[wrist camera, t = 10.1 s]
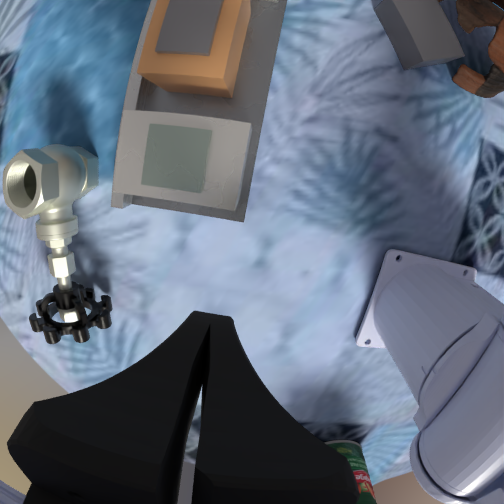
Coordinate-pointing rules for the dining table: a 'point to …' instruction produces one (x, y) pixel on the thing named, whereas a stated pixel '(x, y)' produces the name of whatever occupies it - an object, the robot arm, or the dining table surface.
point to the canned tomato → (356, 468)
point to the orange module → (195, 45)
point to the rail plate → (231, 106)
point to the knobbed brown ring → (499, 49)
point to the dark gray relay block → (419, 32)
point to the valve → (57, 232)
